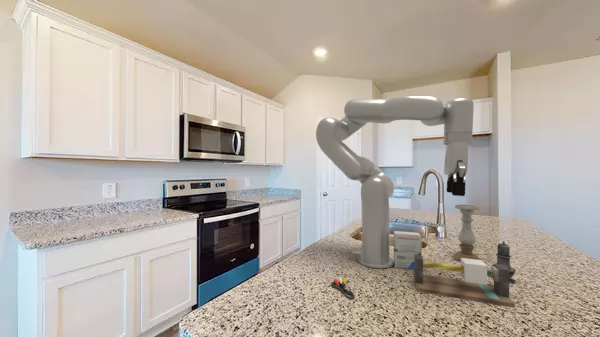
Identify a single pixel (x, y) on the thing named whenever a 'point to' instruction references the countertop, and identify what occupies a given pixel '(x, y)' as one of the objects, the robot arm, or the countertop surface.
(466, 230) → the candle holder
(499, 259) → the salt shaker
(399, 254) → the ink box
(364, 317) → the countertop surface
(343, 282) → the composite cable
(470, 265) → the sleeve
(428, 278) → the cord board
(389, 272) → the countertop surface
